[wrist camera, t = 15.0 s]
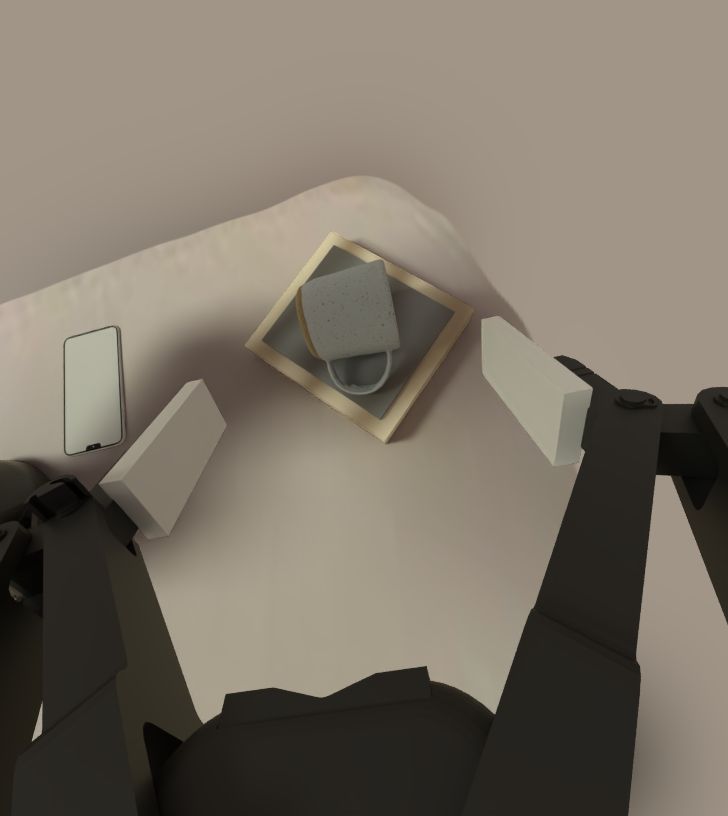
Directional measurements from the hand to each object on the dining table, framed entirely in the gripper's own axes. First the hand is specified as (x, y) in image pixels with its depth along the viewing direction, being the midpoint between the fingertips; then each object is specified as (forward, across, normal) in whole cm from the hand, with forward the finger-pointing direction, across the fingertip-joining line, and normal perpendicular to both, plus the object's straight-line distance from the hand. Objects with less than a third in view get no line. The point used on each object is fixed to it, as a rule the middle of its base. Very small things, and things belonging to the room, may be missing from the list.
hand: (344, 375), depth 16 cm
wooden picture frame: (+21, 0, -6) cm, 22 cm away
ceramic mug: (+18, 0, -6) cm, 18 cm away
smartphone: (+22, -32, -6) cm, 39 cm away
